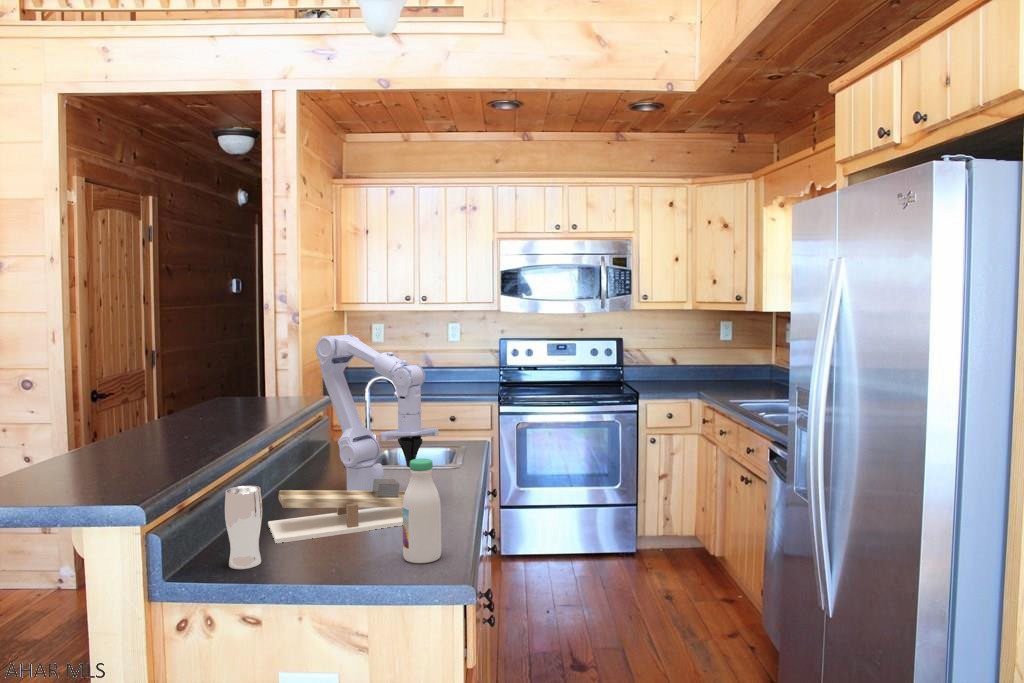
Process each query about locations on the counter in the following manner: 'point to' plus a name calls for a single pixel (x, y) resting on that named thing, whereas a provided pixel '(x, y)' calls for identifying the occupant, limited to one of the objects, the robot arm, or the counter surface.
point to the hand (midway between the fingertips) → (410, 466)
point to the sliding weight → (385, 488)
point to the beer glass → (243, 525)
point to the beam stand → (336, 523)
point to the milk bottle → (421, 515)
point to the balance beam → (335, 499)
